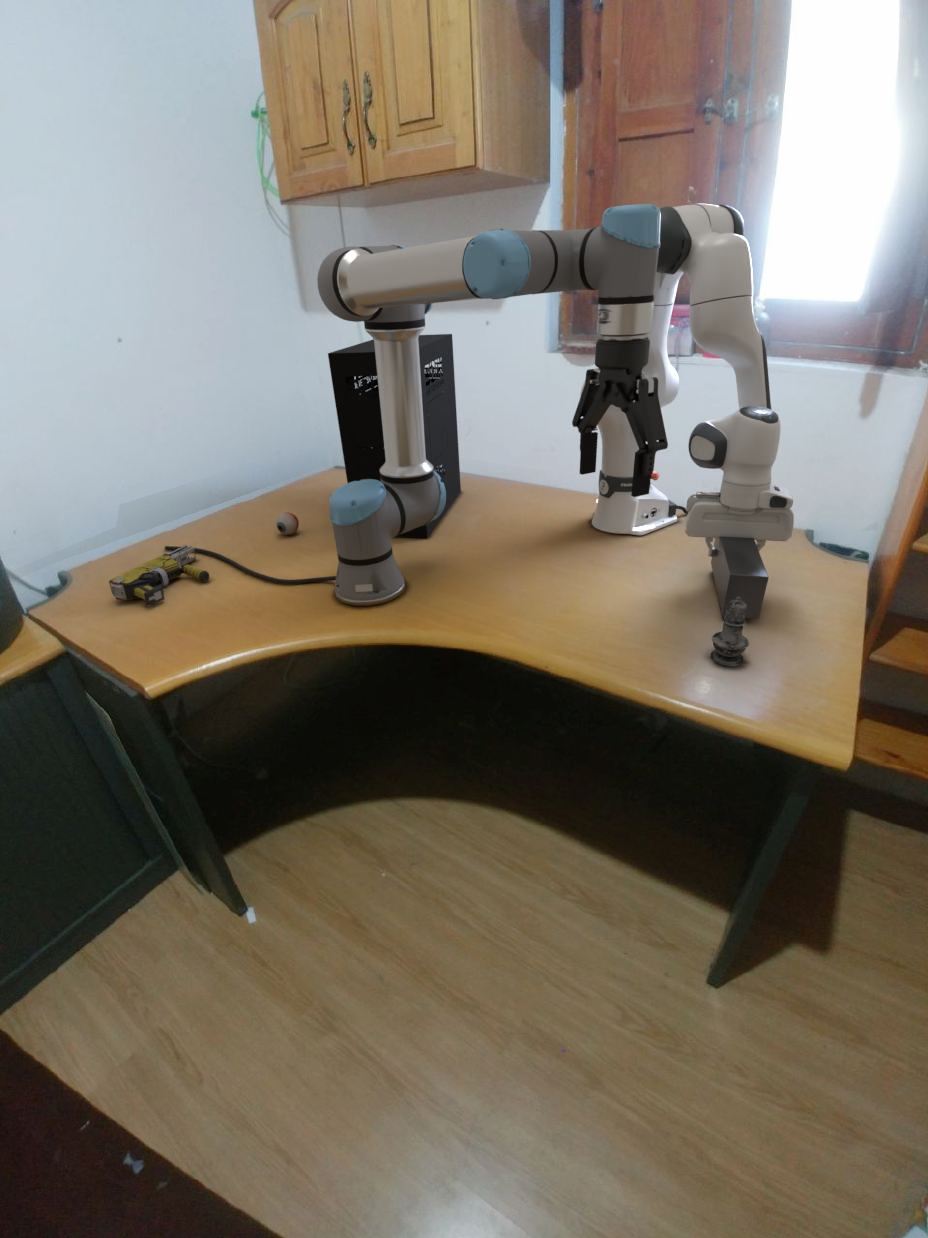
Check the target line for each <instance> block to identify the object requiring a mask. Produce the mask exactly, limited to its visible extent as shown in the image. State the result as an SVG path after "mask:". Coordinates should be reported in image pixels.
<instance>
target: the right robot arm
mask: <svg viewBox="0 0 928 1238" xmlns="http://www.w3.org/2000/svg"><path fill="white" fill-rule="evenodd" d="M658 208H659V210H660V213H661V222H660V243H661V245H660V248H659V252H658V261H657V270H656V279H655V288H654V307H653V319H652V331H651V332H650V333H649V334H647V335H646V337H647V338H649V340H650V348H649V359H648V364H647V365H646V366H644V367H643V369H642V378H643V379H646V378H653V377H657V378H658V398H659V403H660V408H661V409H662V408H663V407H666V406H668V405H670V404H671V403H673V402H674V400H675V399H676V398H677V396H678V393H679V389H680V378H679V377H680V376H679V375H678V371H677V370H676V369H675V367H674V366H673V365H672V363H671V362H670V359H669V354H668V334H669V330H670V324H671V320H672V315H673V314H672V313H673V309H674V305H675V301H676V295H677V290H678V285H679V281H680V279H681V277H682V276H683V275H686V277H687V279H688V281H689V329H690V335H691V338H692V339H693V342H694V343H695V344H696V345H697V346H698V347H699V348H700V349H702V350H703V351H704V352H706V353H708V354H710V355H712V356H715V357H718V358H720V359H722V360H724V361H725V362H726V363H728V365H730V366H731V368H732V370H733V371H734V375H735V382H736V392H737V401H738V402H737V403H738V409H737V410H736V411H735V412H733V413H731V414H729V415H726V416H723V417H719V418H713V419H709V420H705V421H702V422H700V423H698V424H697V425H696V426H695V427H694V428H693V429H692V431H691V433H690V436H689V439H688V453H689V456H690V459H691V460H692V462H693V463H694V464H695V465H696V466H698V467H699V468H703V469H710V470H717V469H719V470H721V471H722V472H723V474H722V478H721V484H720V489H719V492H717V491H716V492H714V491H712V492H711V491H710V492H703V491H697V492H695V493H693V494H691V495H690V496H689V497H688V498H687V500H686V507H684V506H682V505H678V504H676V503H675V502H673V501H672V500H670V499H669V498H668V497H667V496H666V495H665V494H664V493H663V492H661V491H660V490H659V489H658V488H656V487H655V486H654V485H652V483H651V481H650V489H649V494H646V495H642V496H637V497H633V496H631V493H632V482H633V471H634V460H635V452H637V451H638V450H639V447H638V445H637V442H636V440H635V437H634V434H633V432H632V429H631V427H630V424H629V421H628V419H627V416H626V414H625V413H624V412H622V411H621V408H619V407H615V406H614V405H610V406H609V408H608V409H607V411H606V412H605V414H604V416H603V417H602V419H601V420H600V422H599V423H598V425H597V426H596V427H597V429H598V431H599V433H600V438H601V468H600V470H599V474H598V492H599V493H598V498H597V499H596V507H595V511H594V514H593V517H592V520H591V525H592V526H593V527H594V528H595V529H597V530H599V531H601V532H605V533H611V534H623V535H625V534H626V535H632V536H633V535H634V536H645V535H646V534H650V533H652V532H654V531H657V530H660V529H662V528H665V527H668V526H670V525H672V524H675V523H677V522H678V516H677V515H676V513H677V510H681V511H682V512H683V513H684V514H685V515H686V519H685V523H684V533H685V535H687V536H688V537H689V538H704V542H705V544H706V546H707V548H708V549H707V557H710V558H712V557H716V552H717V549H716V547H715V546H714V545H713V544H712V543H713V542H714V539H715V538H720V537H739V538H754V541H755V542H756V546H757V548H758V551H759V552H760V551H761V550H762V549H763V548H764V547H765V546H766V542H767V541H768V542H769V541H770V542H787V541H789V539H791V538H792V535H793V530H794V524H795V523H794V522H795V521H794V520H795V515H794V512H793V510H792V507H793V505H794V498H793V496H792V494H791V492H790V491H789V490H788V489H787V488H785V487H782V486H779V485H776V484H773V483H772V468H773V465H774V464H775V462H776V459H777V455H778V450H779V447H780V445H779V444H780V438H781V419H780V416H779V415H778V413H776V412H775V411H774V410H773V409H772V403H771V391H770V380H769V377H770V376H769V368H768V367H769V366H768V355H767V348H766V342H765V339H764V336H763V334H762V332H761V331H760V330H759V328H758V325H757V322H756V318H755V313H754V305H753V304H754V300H753V299H754V298H753V297H754V278H753V277H754V276H753V264H752V256H751V252H750V251H751V250H750V244H749V242H748V240H747V239H746V237H744V236H745V222H744V221H745V220H744V219H743V216H742V214H741V213H740V211H738V210H737V209H736V208H734V207H732V206H729V205H726V204H709V203H691V204H685V205H677V206H669V205H667V206H662V207H658ZM584 385H585V380H584V381H583V383H582V386H581V389H580V395H579V396H580V397H581V394H582V391H583V388H584ZM633 402H635V400H634V401H633ZM646 444H648V443H647V442H646ZM659 478H660V473H659V472H657V471H653V473H652V474H651V480H653V481H658V479H659Z"/></svg>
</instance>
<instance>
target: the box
mask: <svg viewBox="0 0 928 1238" xmlns="http://www.w3.org/2000/svg"><path fill="white" fill-rule="evenodd" d="M713 542H714V543H713V546H715V547H716V549H717V552H716V557H711V559H710V565H711V568H712V575H713V580H714V585H715V589H716V594H717V597H718V603H719V608H720V611H721V612H720V613H721V616H722V617H725V616H726V612H727V606H728V603H729V602H730V601H732V600H736V599H737V597H738V596H740V598H741V599H740V600H741V601H743V602H745V603H746V605H747V609H746V613H745V618H744V619H747V618H748V619H760V616H761V611H762V608H763V603H764V598H765V595H766V590H767V585H768V583H769V582H768V581H769V574H768V571H767V569H766V566H765V564H764V561H763V559H762V556H761V554H760V551H758V548H757V546H756V544H757V542H756V540H754V538H739V537H720V538H714V541H713Z"/></svg>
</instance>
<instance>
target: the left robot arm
mask: <svg viewBox="0 0 928 1238" xmlns="http://www.w3.org/2000/svg"><path fill="white" fill-rule="evenodd" d="M659 208H660V207H658V206H657V205H655V204H651V203H640V204H639V203H637V204H624V205H617V206H612V207H608V208H606V209H605V210H604V212H603V214H602V218H601V222H600V225H599V226H597V227H593V228H579V229H577V228H576V229H556V230H555V229H551V230H550V229H544V230H543V229H539V230H535V229H533V230H532V229H531V230H516V229H515V230H512V229H511V230H510V229H508V228H498V229H497V228H496V229H490V230H485V231H481V232H479V233H478V234H476V235H474V236H468V237H461V238H456V239H449V240H443V241H439V242H433V243H432V242H431V243H427V244H421V245H415V246H404V245H396V244H392V245H391V244H390V245H372V246H370V245H369V246H344V247H340V248H337V249H334V250H333V251H332V252H330V253H329V254H327V255H326V256H325V258H324V259H323V260H322V262H321V264H320V266H319V268H318V272H317V279H316V280H317V282H316V283H317V289H318V295H319V296H320V299H321V301H322V303H323V305H324V306H325V307H326V309H327V310H328V311H329V312H330V313H331V314H332V315H334V316H336V317H338V318H339V319H341V320H343V321H347V322H355V323H358V322H359V323H361V322H363V325H364V330H365V332H366V333H367V334H368V335H370V337H372V340H373V339H374V346H375V356H376V366H377V376H376V377H377V378H378V387H379V397H380V407H381V417H382V427H383V438H384V448H385V458H386V461H385V463H384V464H383V465H382V467H381V468H380V479H381V482H380V481H378V480H374V479H363V480H360V481H353V482H350V483H347V482H346V483H345V484H343V485H341V486H339V487H338V488H336V489H335V490H334V491H332V493H331V495H330V497H329V501H328V504H329V518H330V522H331V525H332V531H333V537H334V543H335V549H336V554H337V555H336V556H337V560H338V561H337V562H338V564H337V569H336V575H332V576H329V575H328V576H320V577H309V578H300V579H299V578H297V579H284V578H277V577H273V576H269V575H265V574H263V573H259V572H257V571H254V570H252V569H249V568H247V567H245V566H243V565H241V564H239V563H238V562H236V561H234V560H232V559H230V558H229V557H226V556H224V555H223V554H220V553H219V552H215V551H211V550H207V549H203V548H198V547H193V548H194V550H195V553H200V554H204V555H208V556H211V557H215V558H217V559H220V560H222V561H224V562H226V563H228V564H230V565H231V566H233V567H235V568H236V569H239V570H241V571H243V572H245V573H247V574H249V575H250V576H253V577H256V578H258V579H262V580H265V581H267V582H272V583H276V584H282V585H283V584H284V585H285V584H286V585H296V584H297V585H298V584H299V585H300V584H301V585H302V584H311V583H321V582H329V581H330V582H331V581H334V593H335V597H336V599H337V600H338V601H339V602H341V603H342V604H346V605H348V606H355V607H371V606H372V607H373V606H377V605H382V604H386V603H388V602H391V601H393V600H394V599H396V598H398V597H400V596H401V595H402V594H403V593H404V591H405V587H406V584H405V579H404V575H403V573H402V572H401V569H400V567H399V565H398V563H397V561H396V559H395V557H394V553H393V546H392V538H395V536H398V535H400V534H403V533H405V532H408V531H410V530H412V529H415V528H417V527H420V526H424V525H426V524H428V523H429V522H431V521H433V520H435V519H436V518H437V517H438V516H439V515H440V514H441V513H442V511H443V509H444V506H445V502H446V490H445V486H444V483H441V477H440V476H439V475H438V474H437V473H436V472H435V471H434V469H433V465H432V464H431V463H430V462H429V461H428V460H426V454H425V438H424V422H423V407H422V391H421V375H420V359H419V343H418V337H419V335H422V333H423V331H424V330H425V329H426V315H427V314H428V313H429V312H430V311H431V310H432V308H433V304H438V303H449V302H450V303H451V302H459V301H471V300H472V301H473V300H489V299H491V300H501V299H509V298H513V297H520V296H529V295H539V294H541V295H542V294H550V293H551V294H552V293H559V292H575V291H576V292H577V291H598V293H597V294H598V295H597V297H598V298H597V304H598V307H597V321H596V334H597V335H598V336H599V337H600V338H598V339H597V341H595V351H594V352H595V353H594V365H595V368H589V369H587V370H586V371H585V378H584V379H585V380H584V381H585V385H584V388H583V391H582V394H581V393H580V394H581V397H580V398H579V399H578V400H579V401H578V403H577V407H576V410H575V412H574V415H573V418H572V421H571V424H572V427H573V428H577V430H578V431H577V432H578V433H579V434H580V435H579V438H580V439H579V452H580V453H579V455H580V457H579V474H580V475H588V474H592V473H593V474H594V473H596V471H597V453H598V438H599V437H598V435H599V432H597V431H599V428H598V426H597V425H598V423H599V422H600V420H601V419H602V417H603V416H604V414H605V412H606V411H607V409H608V408H609V406H610V405H614V406H615V407H619V408H621V411H622V412H624V413H625V414H626V416H627V419H628V421H629V424H630V427H631V429H632V432H633V434H634V437H635V440H636V442H637V445H638V447H639V450H638V451H637V452H635V460H634V471H633V482H632V493H631V496H633V497H637V496H642V495H646V494H649V489H650V482H651V480H652V479H651V474H652V473H653V471H654V469H655V461H656V453H657V452H659V451H663V450H667V449H668V447H669V443H668V438H667V432H666V428H665V422H664V418H663V414H662V408H660V403H659V398H658V378H657V377H653V378H646V379H643V378H642V369H643V367H644V366H646V365H647V364H648V359H649V348H650V340H649V338H647V337H646V335H647V334H649V333H650V332H651V331H652V319H653V307H654V288H655V279H656V270H657V261H658V252H659V248H660V245H661V243H660V222H661V213H660V210H659ZM634 400H635V402H633V401H634ZM646 442H647V443H648V444H646ZM654 472H655V471H654ZM180 547H181V546H175V545H174V546H172V545H171V546H170V545H165V546H164V550H166V551H174V550H176V549H177V548H180ZM186 548H187V547H186ZM192 553H194V551H193V552H192Z"/></svg>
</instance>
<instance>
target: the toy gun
mask: <svg viewBox="0 0 928 1238" xmlns="http://www.w3.org/2000/svg"><path fill="white" fill-rule="evenodd" d="M179 547H180V548H177V549H176V550H170V552H168V553H163V554H161V555H159V556H157V557H155V558H153V559H151V560H149V561H147V562H145V563H142V564H139V565H138V566H136V567H133V568H132V569H129V570H128V571H125V572H123V573H121V574H119V575H117V576H115V577H113V578H111V579H110V580H108V583H109V587H110V591H111V594H112V597H113V598H115V600H117V601H118V600H119V601H120V602H121V601H122V602H123V601H125V600H126V601H131V600H135V599H143V600H144V601H145V605H146V607H150V606H153V605H155V604H157V603H159V602H162V601H164V600H165V596H164V591H163V590H164V589H163V588H164V587H166V586H168V585H169V581H171V580H173V579H175V578H178V577H181V575H182V574H184V575H185V576H189V577H191V578H194V579H196V580H199V581H200V582H202V583H205V582H207V581H209V580H210V573H209V572H208V571H207V570H202V569H200V568H198V567H195V566H192V565H191V564H190V563H192V562H193V561H196V560H197V556H196V552H195V550H194V548H195V547H194V546H192V545H189V546H188V545H187V544H184V545H182V546H179ZM186 547H187V548H186ZM193 551H194V552H193ZM191 553H193V556H190V554H191Z"/></svg>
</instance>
